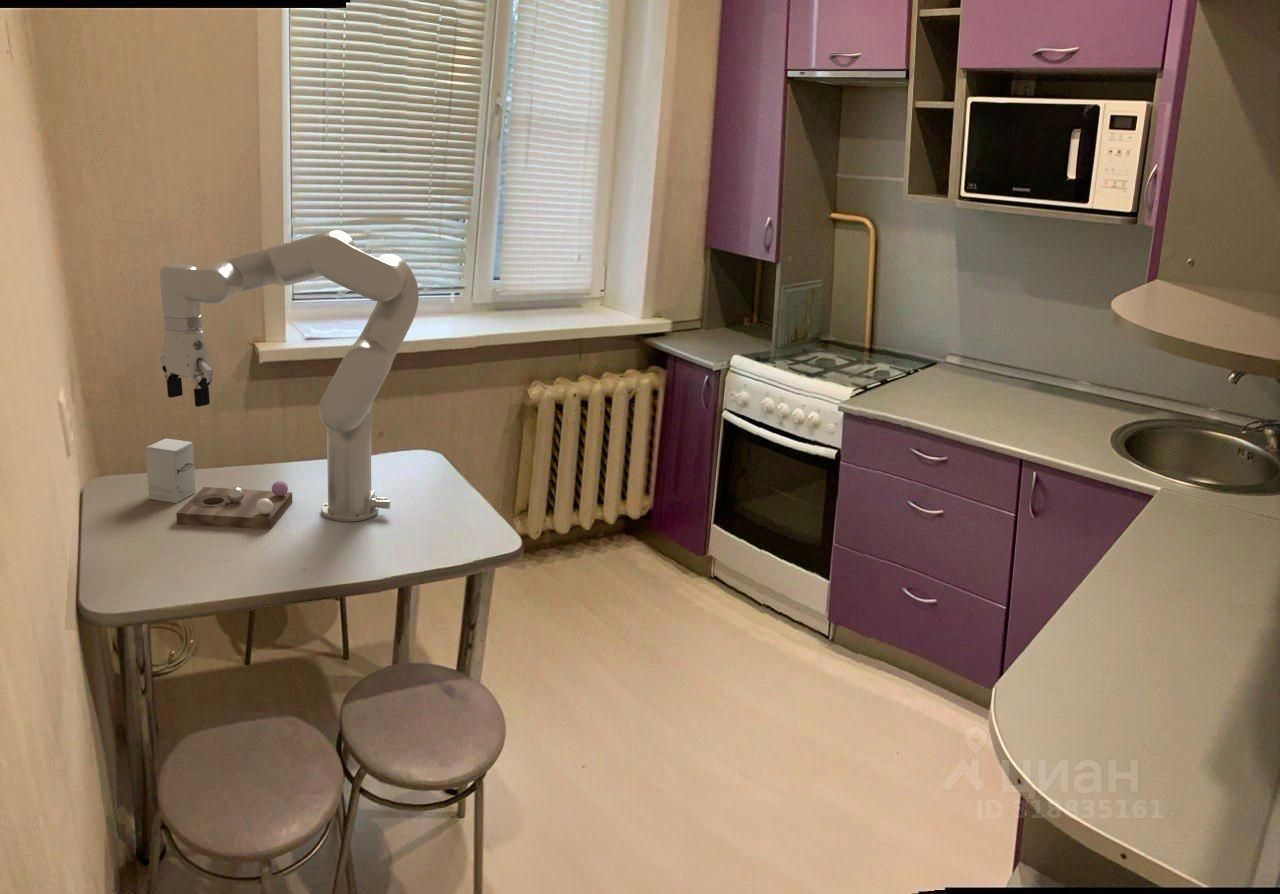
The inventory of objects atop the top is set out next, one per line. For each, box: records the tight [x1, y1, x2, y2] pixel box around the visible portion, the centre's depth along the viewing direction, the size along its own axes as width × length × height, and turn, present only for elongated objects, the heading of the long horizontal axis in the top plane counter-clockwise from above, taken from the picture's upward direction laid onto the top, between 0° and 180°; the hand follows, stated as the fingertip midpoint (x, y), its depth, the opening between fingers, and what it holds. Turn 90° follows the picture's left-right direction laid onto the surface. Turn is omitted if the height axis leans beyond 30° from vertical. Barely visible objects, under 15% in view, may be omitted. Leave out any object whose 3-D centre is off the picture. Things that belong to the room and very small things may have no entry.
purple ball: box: [271, 480, 289, 496], centre depth 236 cm, size 4×4×4 cm
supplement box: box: [145, 438, 196, 504], centre depth 236 cm, size 7×7×13 cm
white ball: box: [256, 498, 273, 514], centre depth 226 cm, size 4×4×4 cm
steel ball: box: [227, 486, 244, 503], centre depth 231 cm, size 4×4×4 cm
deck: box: [176, 486, 293, 530], centre depth 232 cm, size 20×16×2 cm
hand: (188, 400), depth 226 cm, fingers open, 9 cm apart
